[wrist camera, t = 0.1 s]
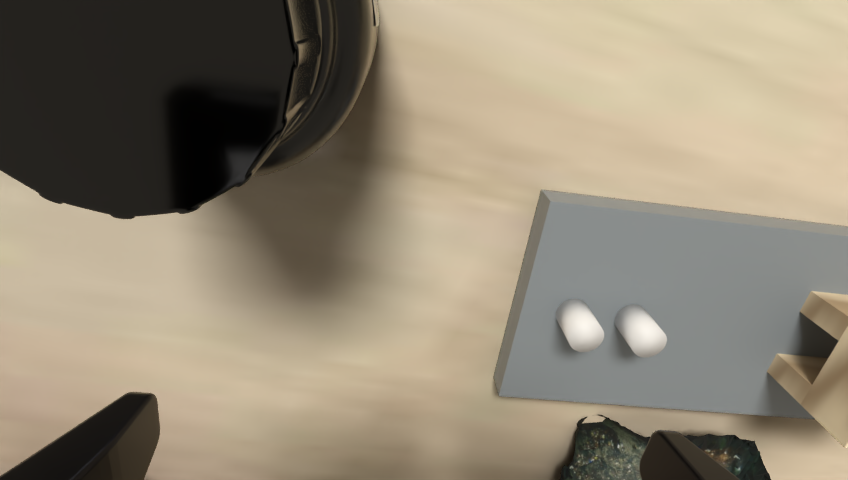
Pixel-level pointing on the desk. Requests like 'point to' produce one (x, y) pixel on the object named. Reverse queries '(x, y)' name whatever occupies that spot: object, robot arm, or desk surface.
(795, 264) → the pin plate
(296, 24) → the ink bottle
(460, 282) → the desk surface
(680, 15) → the desk surface
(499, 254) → the desk surface
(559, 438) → the desk surface
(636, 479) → the decorative rock
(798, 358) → the block
